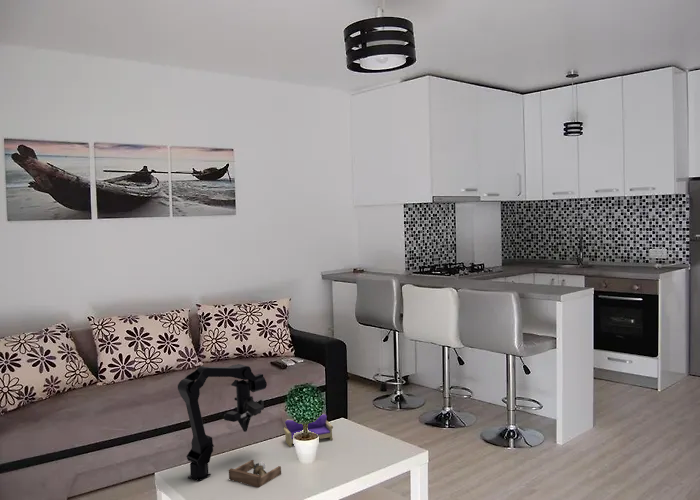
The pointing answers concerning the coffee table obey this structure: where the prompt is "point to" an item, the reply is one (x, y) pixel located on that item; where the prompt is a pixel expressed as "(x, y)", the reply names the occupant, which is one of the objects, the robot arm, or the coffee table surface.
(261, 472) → the eagle figurine
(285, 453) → the coffee table surface
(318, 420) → the toy sofa
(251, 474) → the walnut bay
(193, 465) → the robot arm
